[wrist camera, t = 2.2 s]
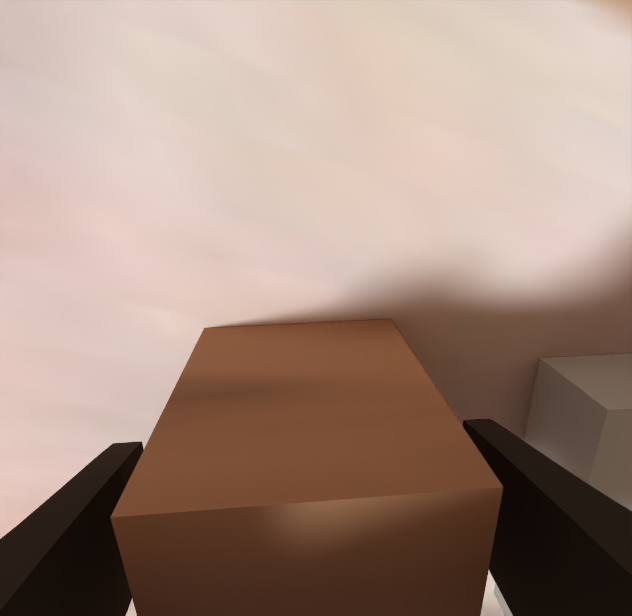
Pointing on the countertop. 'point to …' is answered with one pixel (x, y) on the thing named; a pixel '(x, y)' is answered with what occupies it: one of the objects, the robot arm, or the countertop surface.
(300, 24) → the countertop surface
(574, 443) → the block
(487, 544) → the walnut block
